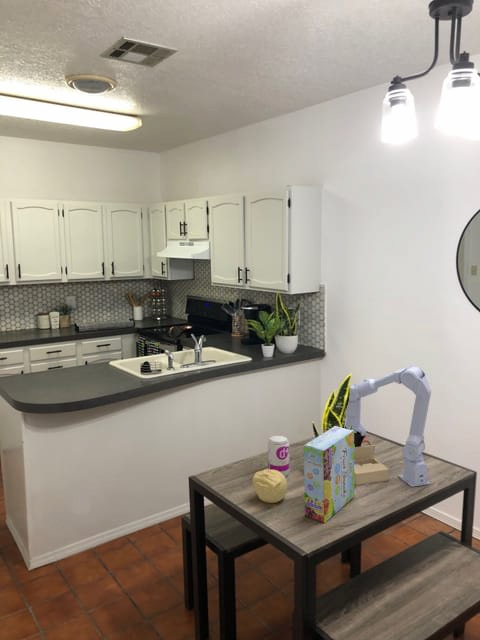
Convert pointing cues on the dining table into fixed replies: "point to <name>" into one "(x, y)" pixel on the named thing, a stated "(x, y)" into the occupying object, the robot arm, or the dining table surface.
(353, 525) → the dining table surface
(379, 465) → the carton
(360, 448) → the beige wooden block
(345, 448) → the snack box
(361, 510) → the dining table surface
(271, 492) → the pale yellow round lump
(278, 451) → the supplement can
